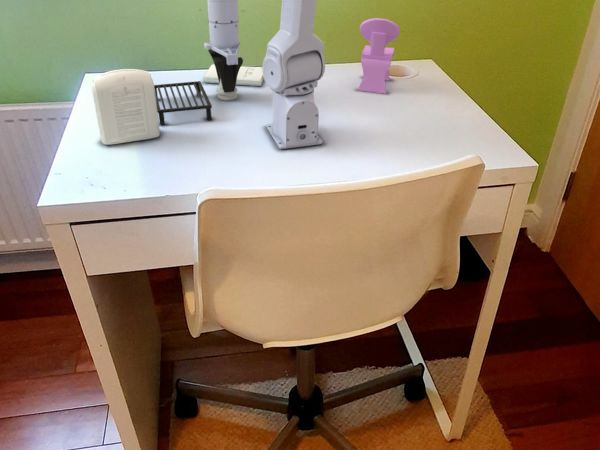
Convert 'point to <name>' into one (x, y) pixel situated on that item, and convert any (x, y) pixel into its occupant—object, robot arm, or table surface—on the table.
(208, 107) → the rack
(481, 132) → the table surface
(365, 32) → the toy chair
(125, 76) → the photo printer
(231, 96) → the rook chess piece
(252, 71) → the hard drive
